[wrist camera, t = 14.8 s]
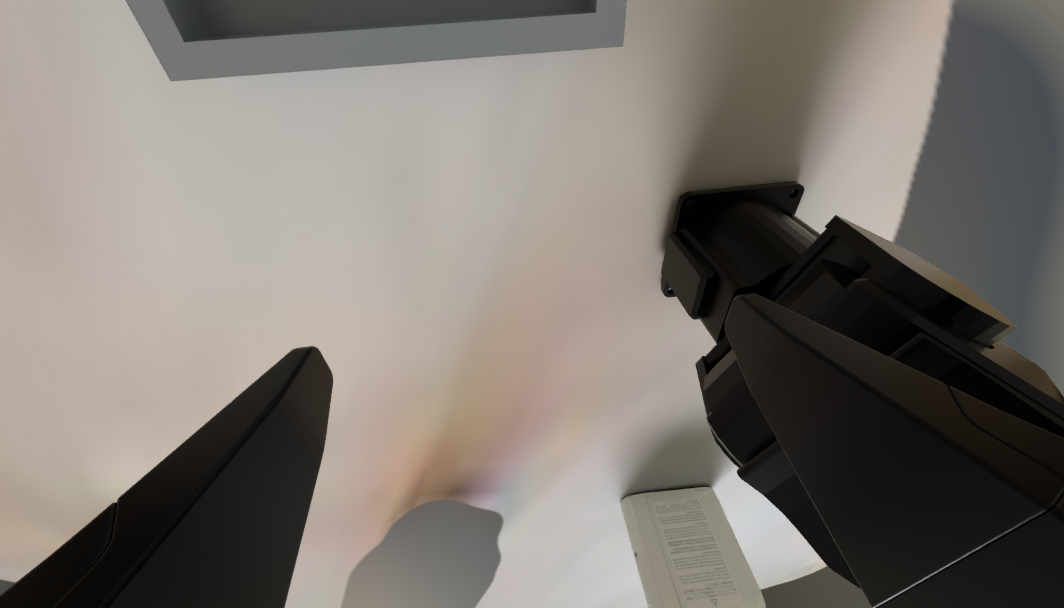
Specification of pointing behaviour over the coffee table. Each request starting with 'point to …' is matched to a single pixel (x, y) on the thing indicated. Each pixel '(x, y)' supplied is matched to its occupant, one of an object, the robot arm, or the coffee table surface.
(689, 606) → the photo printer
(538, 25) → the tray
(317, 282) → the coffee table surface
